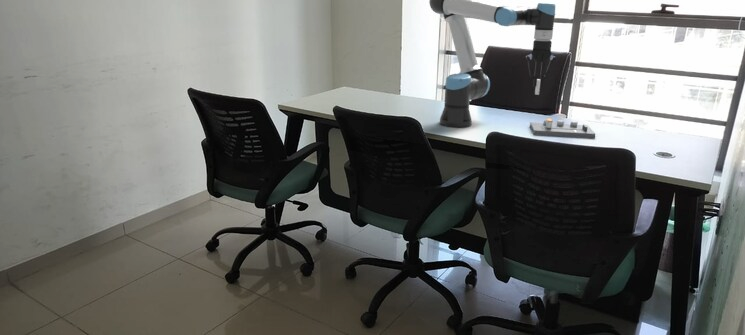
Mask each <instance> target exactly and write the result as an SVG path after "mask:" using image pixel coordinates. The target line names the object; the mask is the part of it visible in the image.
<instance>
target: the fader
mask: <svg viewBox="0 0 745 335" xmlns="http://www.w3.org/2000/svg"><path fill="white" fill-rule="evenodd" d="M546 120H547V121H546V127H547V128H552V123H553V119H552V118H546Z"/></svg>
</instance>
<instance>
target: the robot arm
mask: <svg viewBox="0 0 745 335" xmlns="http://www.w3.org/2000/svg"><path fill="white" fill-rule="evenodd" d="M428 3H429V7H430V9H431V10H432V12H434V13H436V14H438V15H443V19H444V21H445V22H447V24H448V26H449V29H450V34H451V38H452V40H453V45H454V48H455V49H454V50H455V54H456V57H457V62H458V65H459V66H458V67H459V69H460V71H459V73H453V74H450V75H448V76H447V77H446V78H445V88H444V89H445V92H444V104H443V105H444V107H443V110H442V113H441V115H440V118H439V124H440V125H441V126H444V127H449V128H466V127H467V128H468V127H470V126H472V121H473V120H472V116H471V112H470V102H471V101H470V100H476V99H480V98H482V97H484V96H486V95H487V94H488V92H489V91H490V87H491V81H490V78H489V77H488V75H487V74H485V73H484V72H483V68H482V67H480V66H479V65H478V61H477V57H476V52H475V48H474V45H473V41H472V36H471V33H470V28H469V24H468V20H467V18H472V19H476V20H480V21H485V22H490V23H494V24H498V25H499V26H502V27H510V26H511V27H513V26H534V34H533V39H534V41H533V43H532V45H533V46H532V50H531V53H530V54H528V55H526V56H525V58H526V60H527V66H528V72H529V77H530V78H531V79H533V87H534V88H535V89H534V95H535V96H536V95H538V96H539V95H540V91H541V90H540V89H541V88H542V87H543V85H544V84H543V83H544V80H547V79H548V78H549V75H550V72H551V71H552V68H553V64H554V62H555V61H556V60H557V57H556V56H554V55H553V53H552V41H551V40H553V32H554V24H555V17H556V4H555V3H553V2H538V4H537V5H536V7H529V6H528V7H526V6H524V7H523V6H515V7H510V6H506V5H500V4H495V3H490V2H485V1H480V0H429V1H428ZM532 58H533V59H534V61H535V64H534V66H535V67H534V71H533V64H532V60H533V59H532ZM548 60H549V63H548V65H547V68H546V71H545V67H546V62H547V61H548ZM540 63H541V66H540ZM539 67H540V75H539ZM538 76H539V77H538Z"/></svg>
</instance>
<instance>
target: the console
mask: <svg viewBox="0 0 745 335" xmlns="http://www.w3.org/2000/svg"><path fill="white" fill-rule="evenodd" d="M546 121H547V119H543V122H532V121H531V122H529V127H530V130H531V131H532V134H533V135H534V136H550V137H551V136H552V137H568V138H569V137H570V138H581V139H582V138H583V139H584V138H586V139H587V138H588V139H595V138H596V132H594V131H593V130H592V128H591V127H590V126H589V125H588V124H578V121H574V120H571V121H570V123H569V124H568V123H565V121H564V120H557V121H556V123H553V122H552V128H547V127H546Z"/></svg>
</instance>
